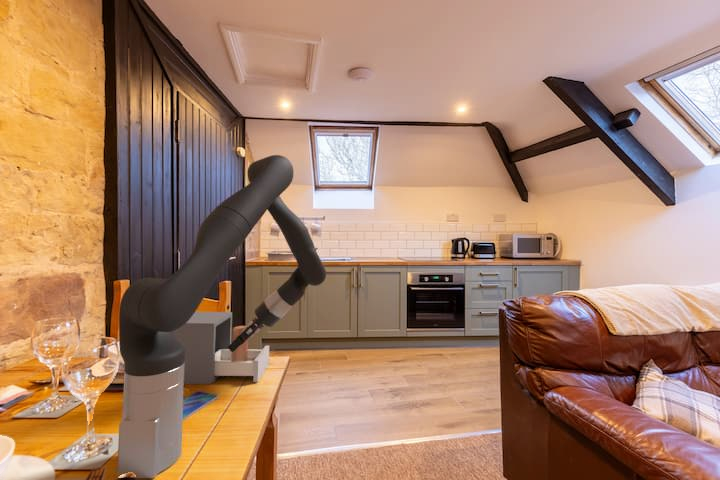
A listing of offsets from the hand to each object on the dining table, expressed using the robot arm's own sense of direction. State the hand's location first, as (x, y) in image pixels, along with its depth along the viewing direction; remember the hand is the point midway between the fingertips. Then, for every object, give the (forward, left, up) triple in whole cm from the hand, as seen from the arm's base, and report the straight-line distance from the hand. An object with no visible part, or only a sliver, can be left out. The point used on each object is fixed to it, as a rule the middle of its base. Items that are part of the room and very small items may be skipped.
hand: (233, 346), depth 93 cm
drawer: (0, -2, -8) cm, 8 cm away
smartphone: (-20, +4, -9) cm, 22 cm away
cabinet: (0, +11, -8) cm, 14 cm away
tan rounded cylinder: (0, -2, -4) cm, 5 cm away
